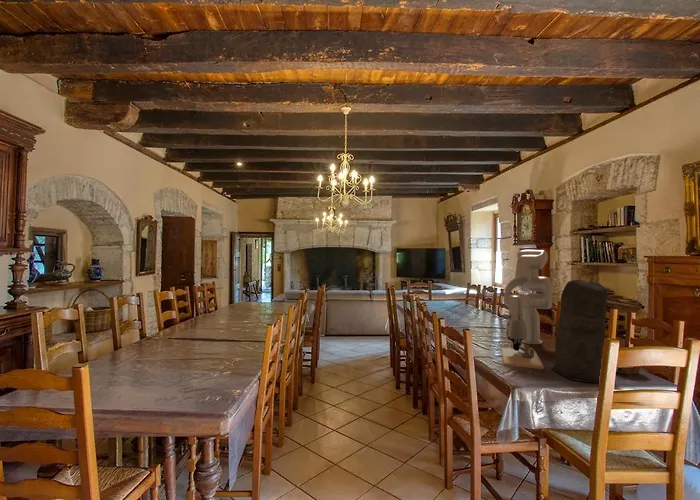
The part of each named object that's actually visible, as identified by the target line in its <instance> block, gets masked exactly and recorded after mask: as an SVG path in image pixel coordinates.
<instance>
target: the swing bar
mask: <svg viewBox="0 0 700 500" xmlns="http://www.w3.org/2000/svg"><path fill="white" fill-rule="evenodd" d="M519 349H521V350H522V351H523V352H525V345H523V344H522V342H521V343H520V348H519Z"/></svg>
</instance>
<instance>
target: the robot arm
mask: <svg viewBox="0 0 700 500" xmlns="http://www.w3.org/2000/svg"><path fill="white" fill-rule="evenodd" d="M516 255H517V261H516V265H515V267H516V269H515V275H514V278H513V279H511V280H510V281H509V282H508V283H507V285H506V286H505V289H504V294H503V304H504V305H505V306H507V307H508V315H506V318H507V322H506V327H505V328H506V334H505V335H506V340H508V341H511V343H512V349H514V350H516V351H519V348H520V343H521V344H522V343H524V344H526V345H542V344H543V341H542V340H540V339H541V338H540V337H541V336H540V335H541V334H540V331H541V330H540V328H541V327H540V326H541V325H540V323H541V322H540V321H541V320H540V314H539V312H538V311H537V309H540V310H551V308H552V307H553V285H552V280H551V278H550V277H548V276H539V270H542V269H543V268H544V267H545V265H546V264H547V262H548V259H549V255H548V252H547V251H546V250H545V249H523V250H519V251H518V252H517V254H516ZM522 285H523V288H524V289H525V291H529V292H527V293H524V294H521V293H520V294H519V293H511V292H512V291H513V290H514V289H515V288H517V287H520V286H522ZM535 292H536V293H535ZM537 292H539V293H537ZM540 292H541V293H540Z"/></svg>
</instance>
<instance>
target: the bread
mask: <svg viewBox="0 0 700 500" xmlns="http://www.w3.org/2000/svg"><path fill="white" fill-rule="evenodd" d="M640 369H641V366H640V367H633V368H618V369H617V374H621V375H637V374H639V372H640Z"/></svg>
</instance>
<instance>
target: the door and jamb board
mask: <svg viewBox="0 0 700 500" xmlns="http://www.w3.org/2000/svg"><path fill="white" fill-rule="evenodd" d="M524 347H525V352H523V351H522V350H521V349H519V351H516V350H514V349H513V348H508V347H501V354H502V355H501V356H502V359H503V365H504V366H506V367H507V366H508V367H517V368H526V369H527V368H529V369H537V370H538V369H539V370H544V369H545V367H544V365H543V363H542V361H541V359H540V357H539V355H538V354H537V352H536V350H535V349H534V348H531V347H530V344H524Z"/></svg>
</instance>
